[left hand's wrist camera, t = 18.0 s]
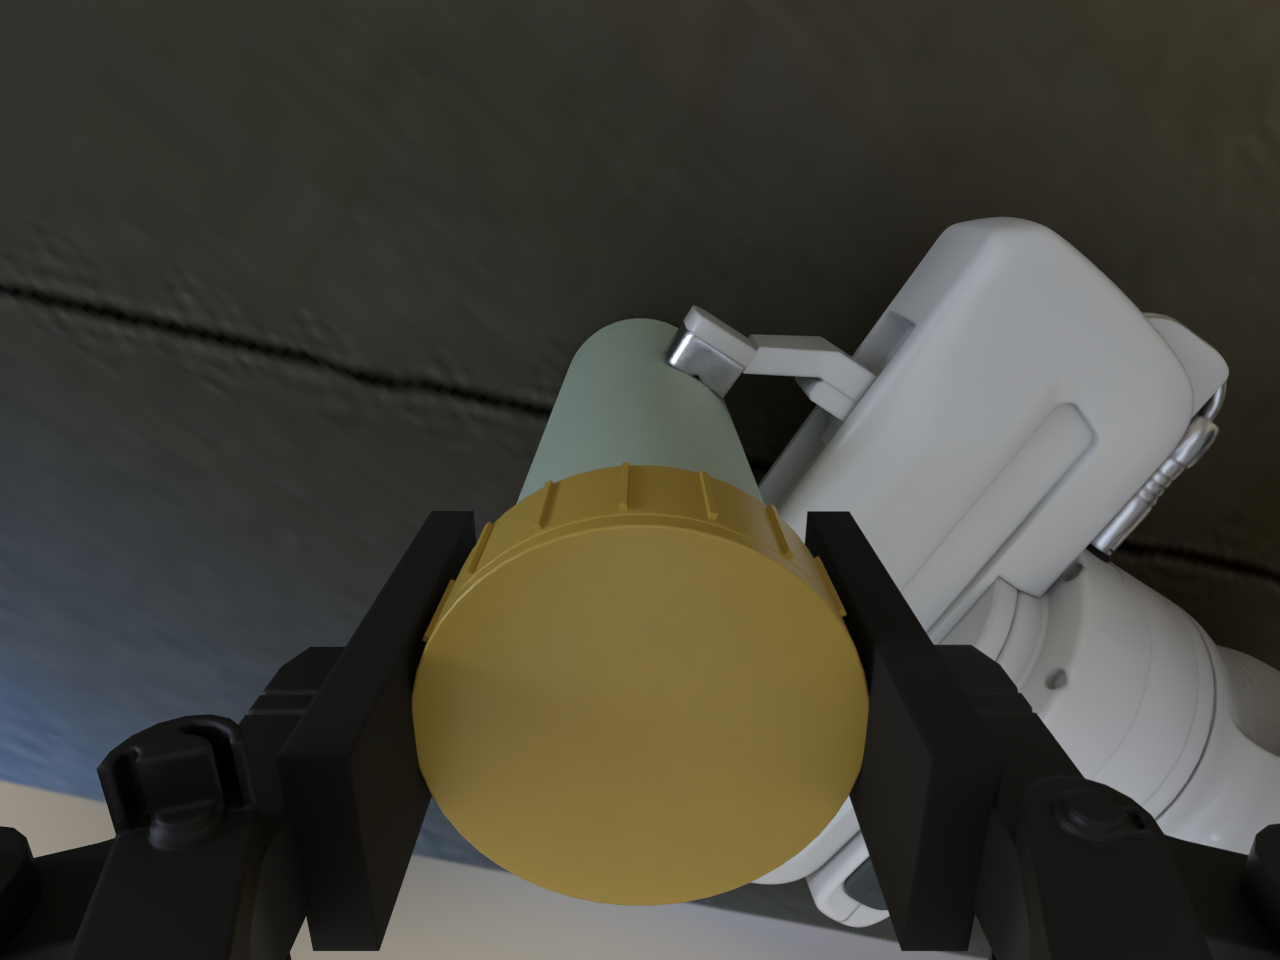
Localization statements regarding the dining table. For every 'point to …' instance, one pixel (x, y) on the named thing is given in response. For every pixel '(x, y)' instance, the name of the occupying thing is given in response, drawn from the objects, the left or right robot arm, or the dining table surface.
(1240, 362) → the dining table surface
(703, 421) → the jar
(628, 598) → the lid
